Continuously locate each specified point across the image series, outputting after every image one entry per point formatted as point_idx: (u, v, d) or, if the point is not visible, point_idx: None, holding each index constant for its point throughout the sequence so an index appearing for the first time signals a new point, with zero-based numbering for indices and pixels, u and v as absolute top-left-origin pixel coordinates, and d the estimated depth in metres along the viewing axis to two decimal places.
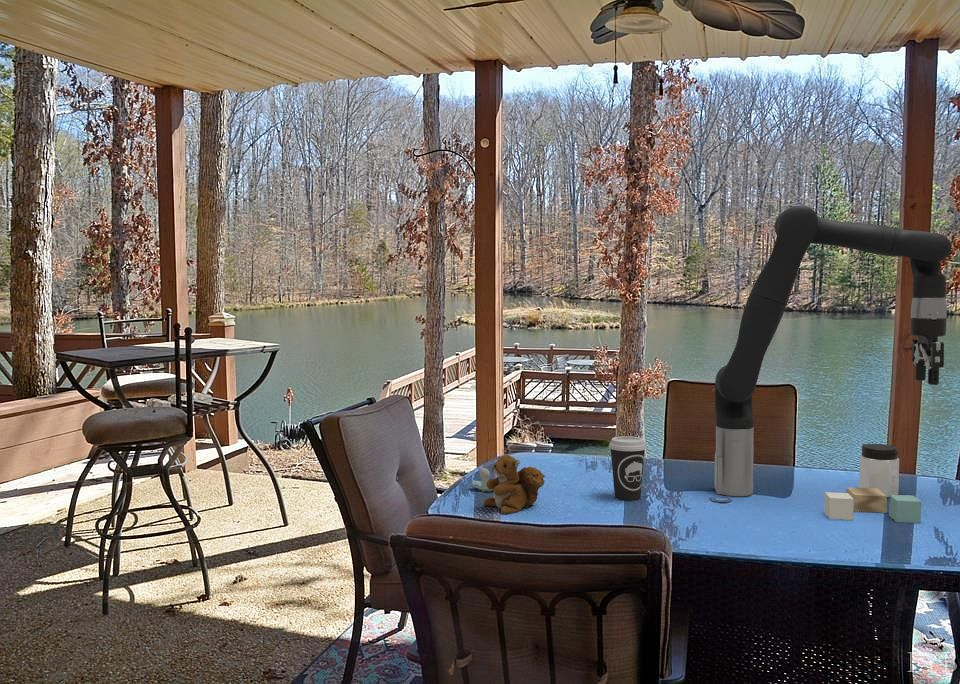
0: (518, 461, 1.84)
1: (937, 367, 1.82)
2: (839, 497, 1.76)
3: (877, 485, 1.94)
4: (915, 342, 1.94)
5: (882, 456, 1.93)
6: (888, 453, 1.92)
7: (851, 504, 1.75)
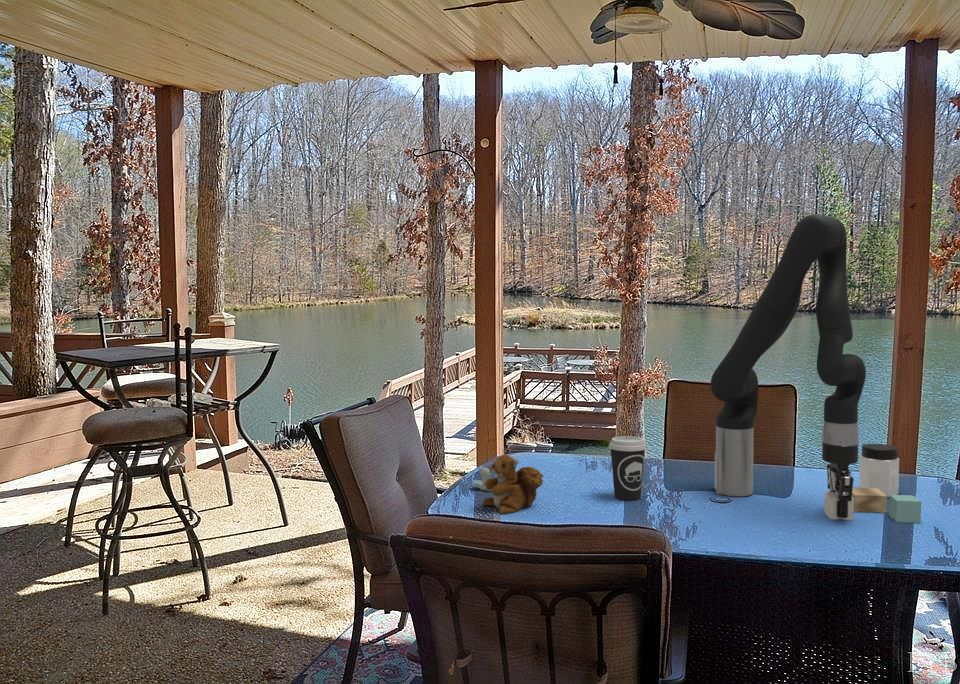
0: (517, 461, 1.84)
1: (845, 501, 1.73)
2: None
3: (877, 485, 1.94)
4: (829, 467, 1.83)
5: (882, 456, 1.93)
6: (888, 453, 1.92)
7: (851, 504, 1.75)
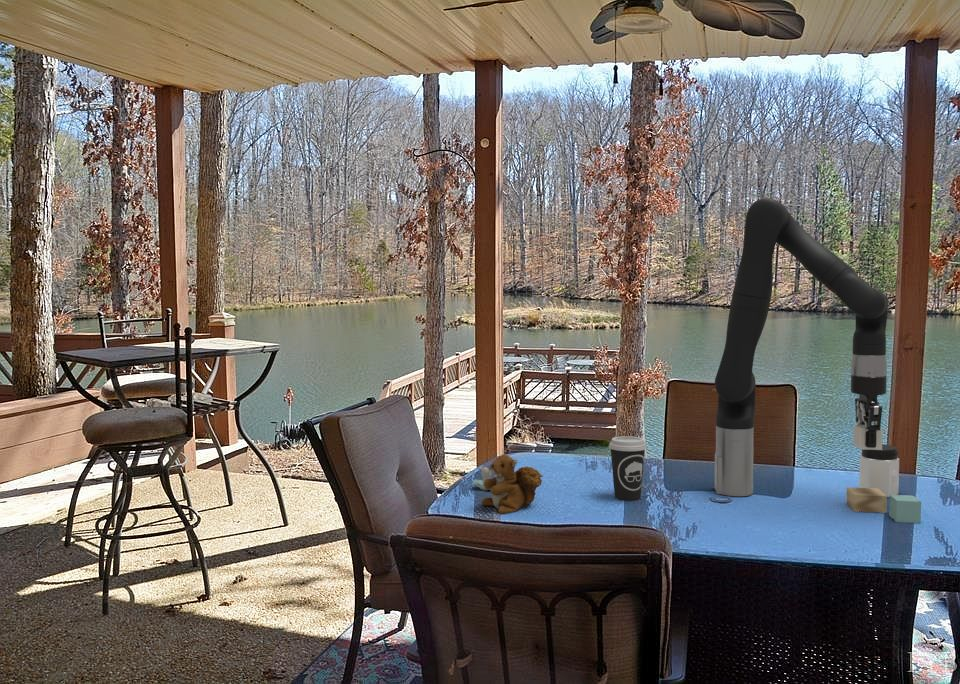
0: (516, 461, 1.85)
1: (874, 430, 1.78)
2: None
3: (877, 485, 1.94)
4: None
5: (882, 456, 1.93)
6: (888, 453, 1.92)
7: (880, 434, 1.80)
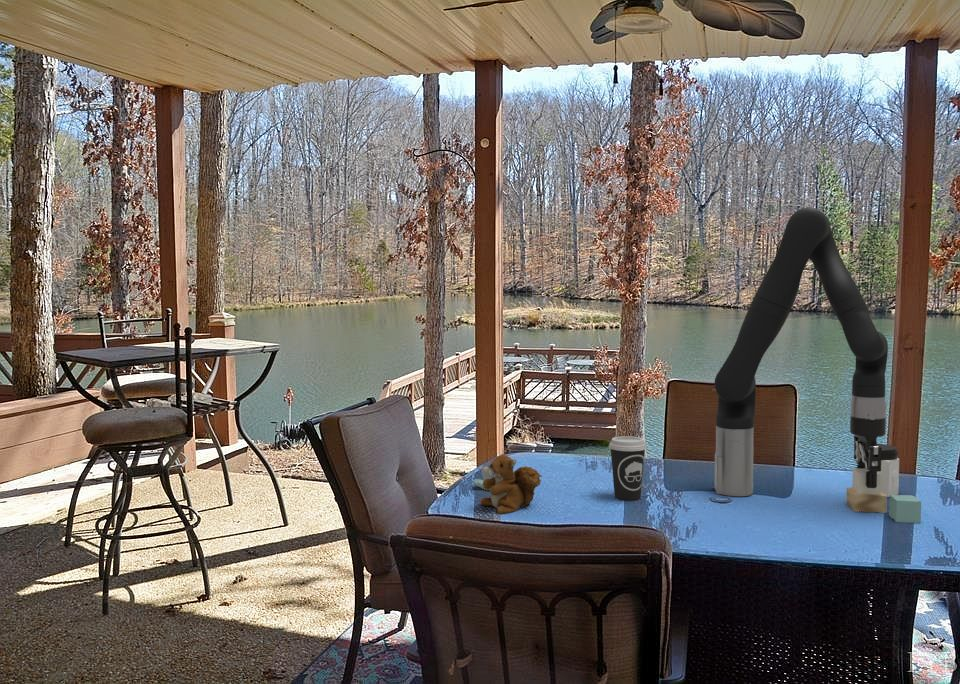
0: (514, 461, 1.85)
1: (874, 471, 1.78)
2: None
3: None
4: (856, 439, 1.89)
5: (882, 456, 1.93)
6: (888, 453, 1.92)
7: (879, 479, 1.81)
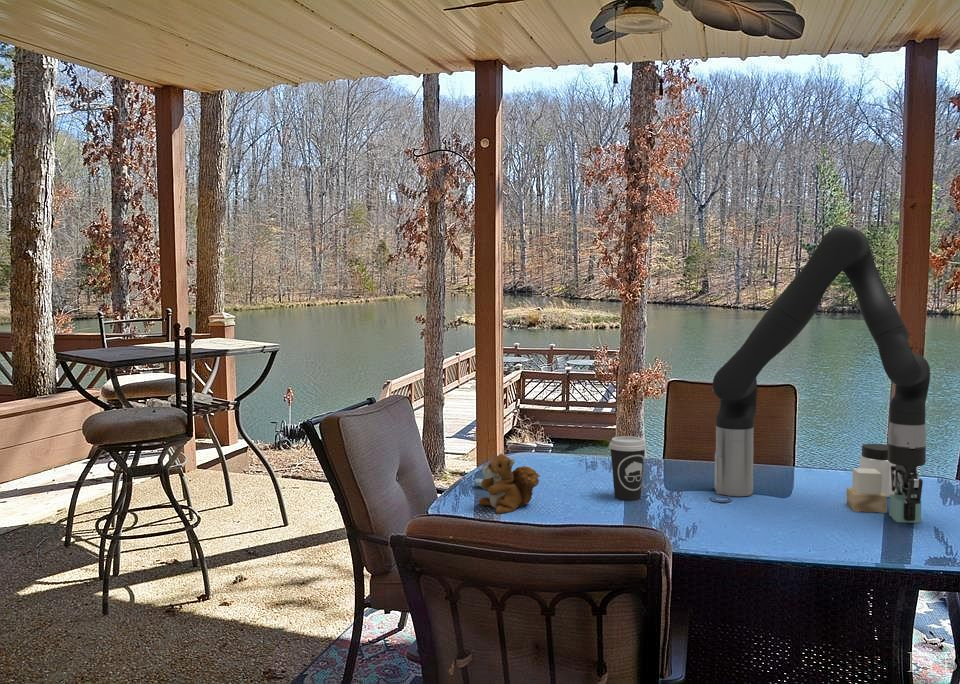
0: (513, 461, 1.85)
1: (913, 503, 1.70)
2: (867, 472, 1.82)
3: None
4: (893, 469, 1.80)
5: (882, 456, 1.93)
6: None
7: (879, 479, 1.81)
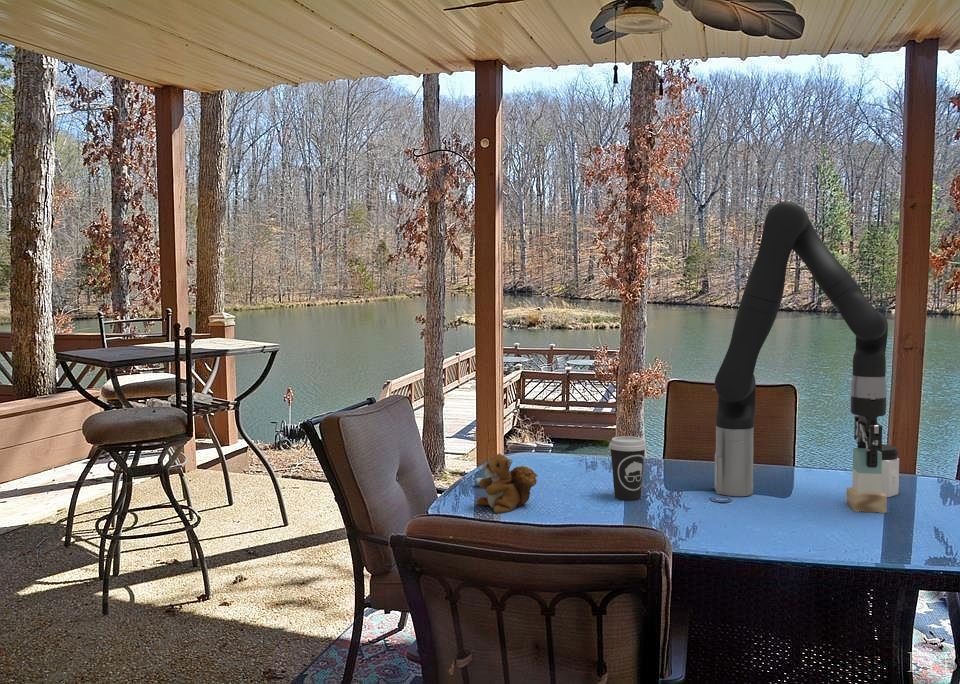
0: (511, 460, 1.85)
1: (875, 450, 1.77)
2: None
3: None
4: (857, 420, 1.88)
5: (882, 456, 1.93)
6: (888, 453, 1.92)
7: (879, 479, 1.81)
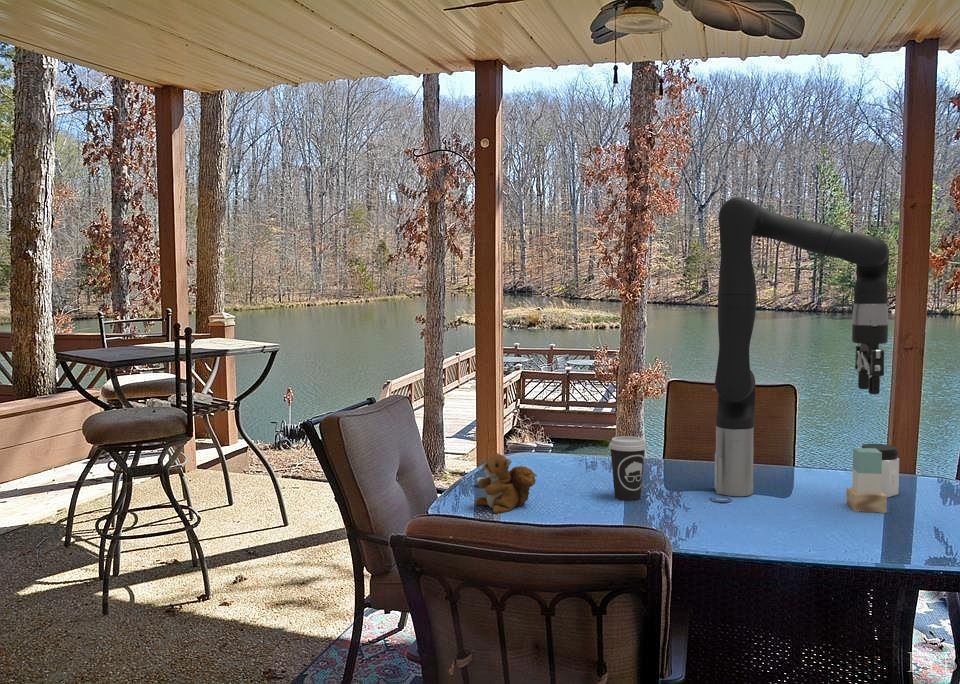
0: (510, 460, 1.85)
1: (877, 376, 1.76)
2: None
3: None
4: (858, 349, 1.87)
5: (882, 456, 1.93)
6: (888, 453, 1.92)
7: (879, 479, 1.81)
